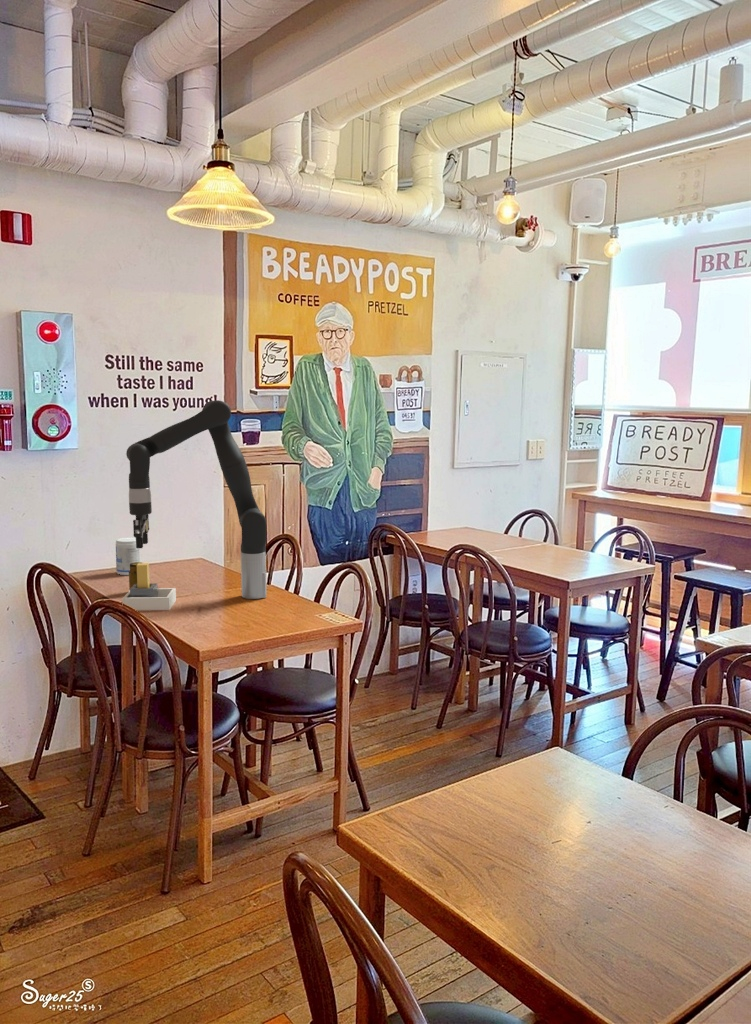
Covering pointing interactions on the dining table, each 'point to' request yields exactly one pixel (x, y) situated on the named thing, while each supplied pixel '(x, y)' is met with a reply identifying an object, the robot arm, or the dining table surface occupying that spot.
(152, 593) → the socket
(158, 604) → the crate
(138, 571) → the plug
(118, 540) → the supplement tub
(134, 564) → the condiment
